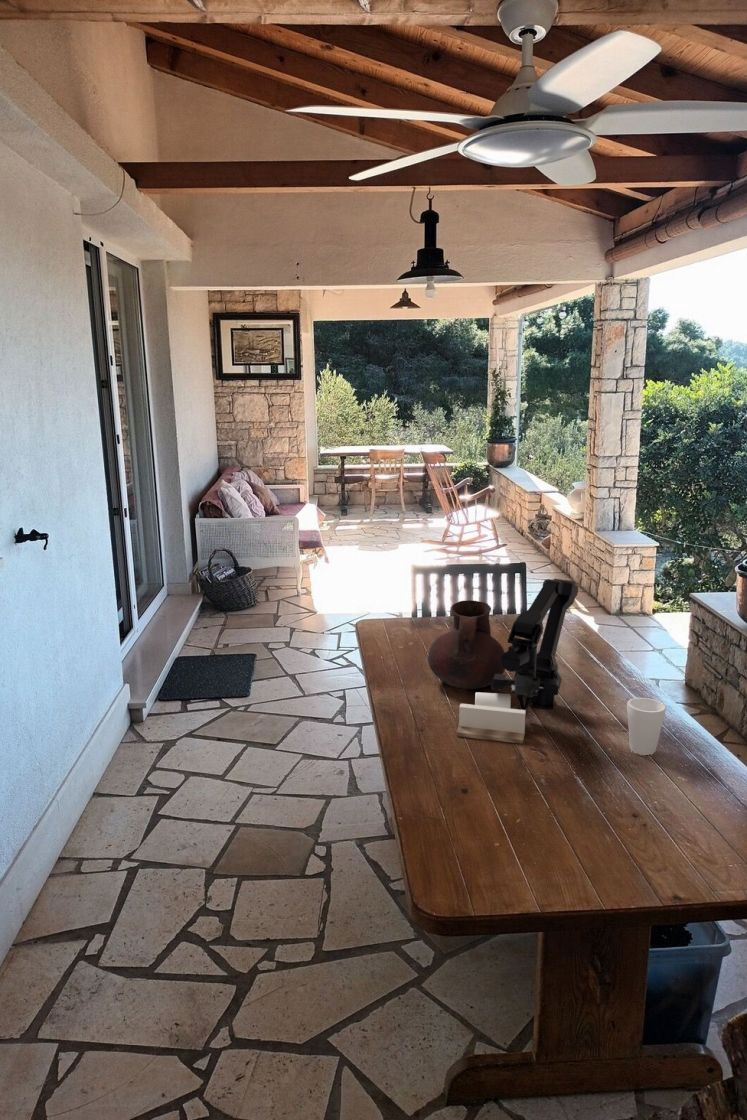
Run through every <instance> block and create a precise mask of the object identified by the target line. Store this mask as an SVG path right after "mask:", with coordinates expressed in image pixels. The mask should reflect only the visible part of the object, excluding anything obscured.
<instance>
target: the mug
mask: <svg viewBox="0 0 747 1120" xmlns="http://www.w3.org/2000/svg"><path fill="white" fill-rule="evenodd" d="M474 695H475V698H474V705H480V706H490V707H499V708H509V709H512V708H511V705H512V704H511V703H512V702H511V701H512V698H511V696H512V695H511V694H510V693H497V692H496V693H495V692H493V693H492V692H479V691H478V692H477V691H476V692H475V694H474Z"/></svg>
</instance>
